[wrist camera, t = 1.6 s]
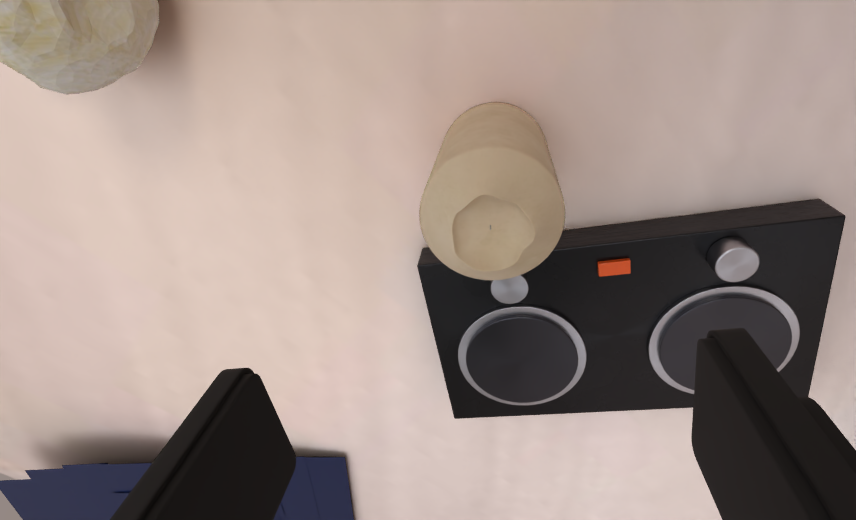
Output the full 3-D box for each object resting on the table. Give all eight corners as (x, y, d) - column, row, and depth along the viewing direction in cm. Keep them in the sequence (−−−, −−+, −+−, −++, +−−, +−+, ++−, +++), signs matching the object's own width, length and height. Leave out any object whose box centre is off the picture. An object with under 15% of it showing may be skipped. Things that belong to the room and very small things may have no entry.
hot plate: (422, 247, 29) (413, 276, 26) (819, 198, 25) (863, 226, 22) (456, 395, 35) (452, 433, 32) (788, 376, 30) (819, 418, 27)
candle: (439, 103, 25) (406, 162, 16) (548, 98, 24) (575, 156, 15) (445, 203, 28) (419, 299, 19) (544, 201, 27) (565, 301, 18)
